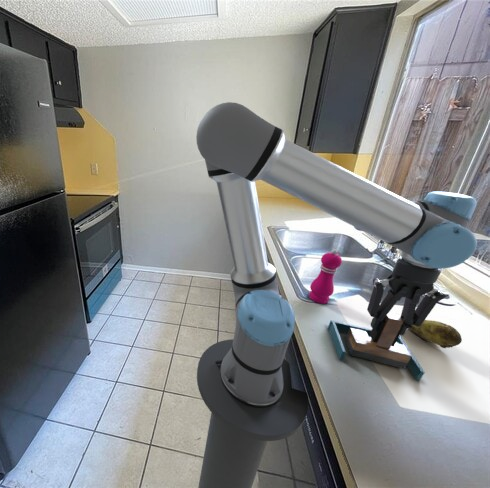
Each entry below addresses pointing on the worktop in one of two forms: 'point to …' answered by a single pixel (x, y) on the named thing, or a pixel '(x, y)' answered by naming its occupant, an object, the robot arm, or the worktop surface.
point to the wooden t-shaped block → (381, 345)
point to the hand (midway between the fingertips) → (381, 340)
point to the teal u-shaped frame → (344, 328)
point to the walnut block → (355, 332)
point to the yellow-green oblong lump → (438, 333)
